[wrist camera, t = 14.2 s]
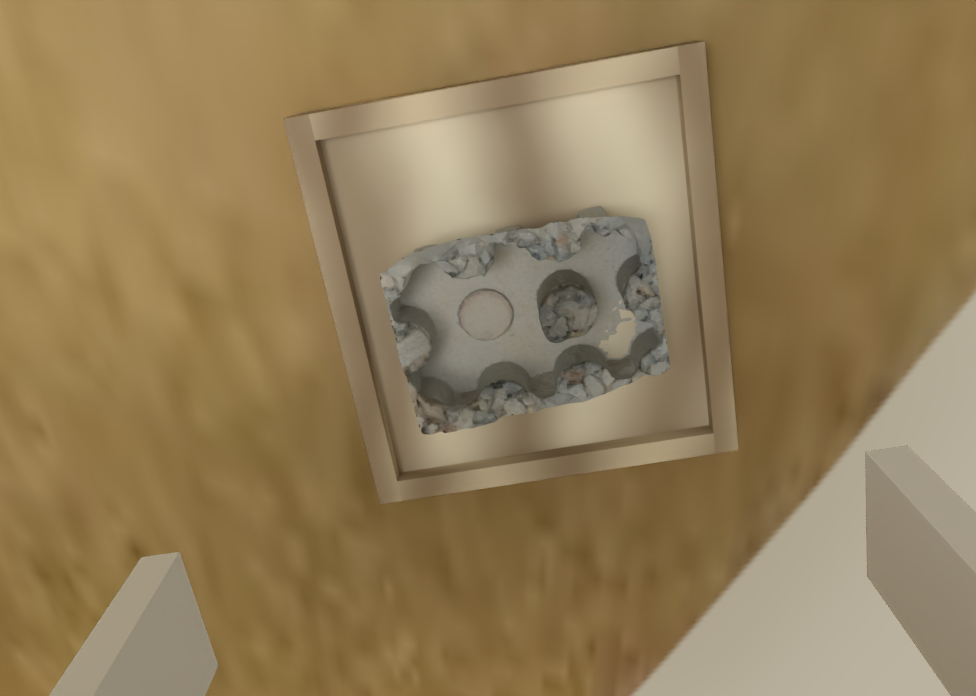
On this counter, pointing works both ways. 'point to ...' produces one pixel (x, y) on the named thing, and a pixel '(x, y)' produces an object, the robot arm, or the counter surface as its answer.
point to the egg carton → (524, 318)
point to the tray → (530, 204)
